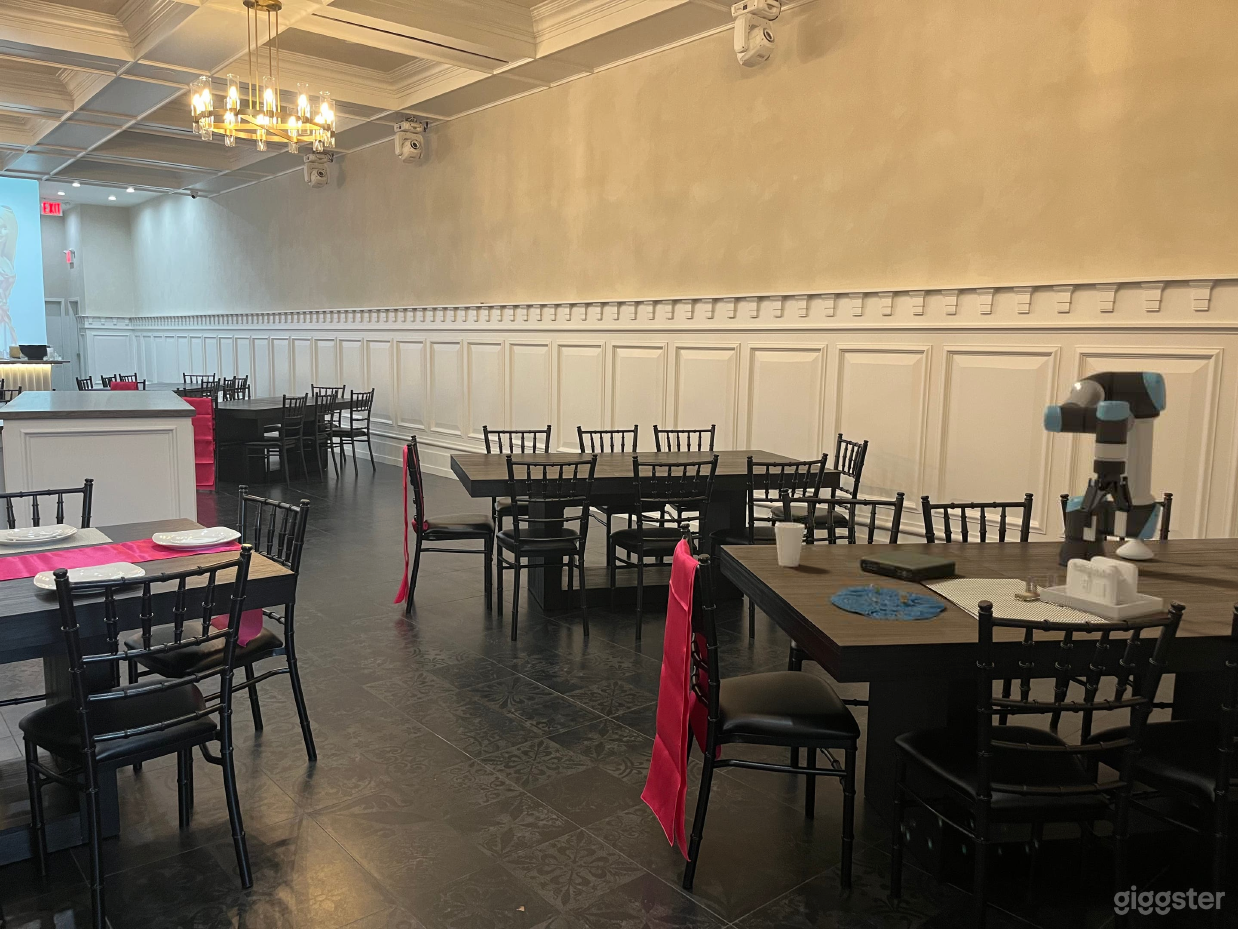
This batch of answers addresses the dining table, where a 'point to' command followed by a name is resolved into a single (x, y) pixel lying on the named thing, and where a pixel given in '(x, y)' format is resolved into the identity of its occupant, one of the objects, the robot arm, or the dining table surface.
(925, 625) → the dining table surface
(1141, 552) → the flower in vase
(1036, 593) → the cable clip rail
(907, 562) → the network switch
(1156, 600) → the holder tray
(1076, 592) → the cable organizer
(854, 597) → the blue wave plaque
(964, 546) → the dining table surface
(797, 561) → the foam cup
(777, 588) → the dining table surface
